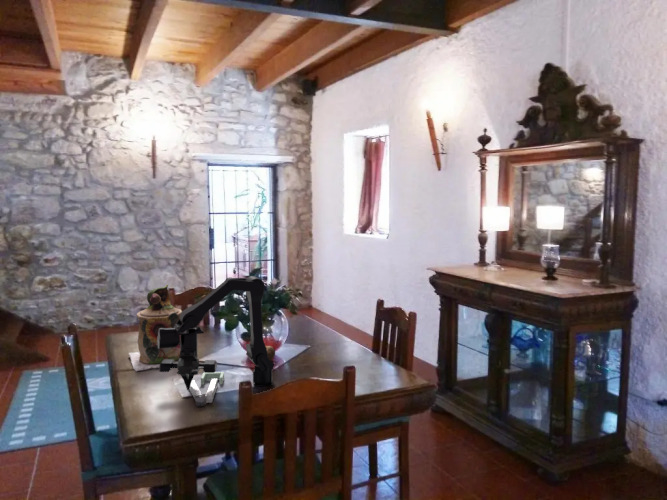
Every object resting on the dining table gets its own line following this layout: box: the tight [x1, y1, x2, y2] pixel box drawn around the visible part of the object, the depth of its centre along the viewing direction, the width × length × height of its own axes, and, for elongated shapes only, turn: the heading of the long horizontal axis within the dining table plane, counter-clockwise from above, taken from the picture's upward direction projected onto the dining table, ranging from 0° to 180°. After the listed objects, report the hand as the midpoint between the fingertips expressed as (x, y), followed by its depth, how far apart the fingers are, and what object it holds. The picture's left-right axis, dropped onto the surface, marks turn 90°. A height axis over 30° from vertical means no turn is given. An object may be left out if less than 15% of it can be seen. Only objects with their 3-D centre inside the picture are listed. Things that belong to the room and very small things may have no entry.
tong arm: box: [189, 379, 206, 407], centre depth 183 cm, size 3×20×3 cm, turn 24°
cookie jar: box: [128, 283, 183, 372], centre depth 222 cm, size 25×25×32 cm
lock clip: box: [200, 371, 225, 386], centre depth 197 cm, size 8×6×2 cm
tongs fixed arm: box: [205, 379, 219, 404], centre depth 185 cm, size 2×16×2 cm, turn 6°
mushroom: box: [265, 345, 276, 361], centre depth 224 cm, size 8×8×6 cm
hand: (188, 389), depth 185 cm, fingers closed
